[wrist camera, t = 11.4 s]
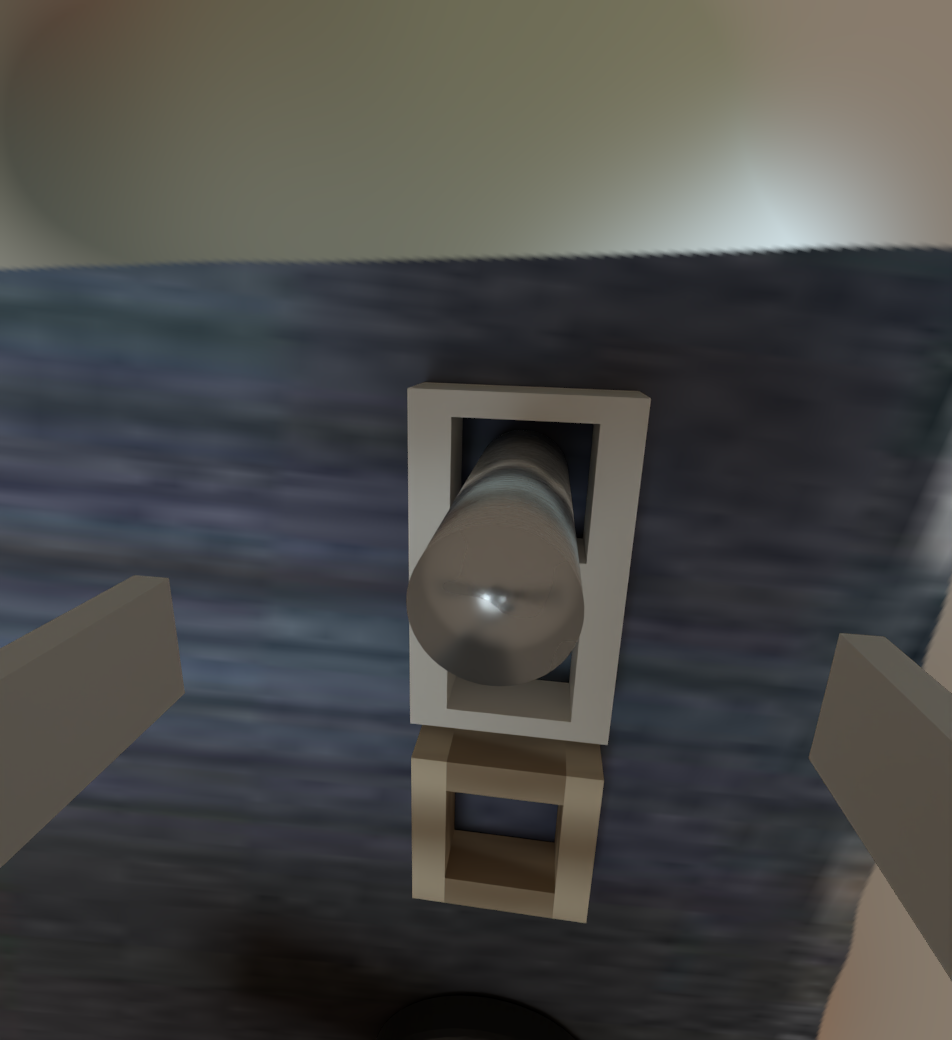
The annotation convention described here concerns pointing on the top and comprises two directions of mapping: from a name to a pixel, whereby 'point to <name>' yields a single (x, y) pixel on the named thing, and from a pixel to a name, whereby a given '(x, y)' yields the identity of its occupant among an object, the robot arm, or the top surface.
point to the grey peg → (503, 569)
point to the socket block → (500, 859)
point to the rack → (601, 551)
